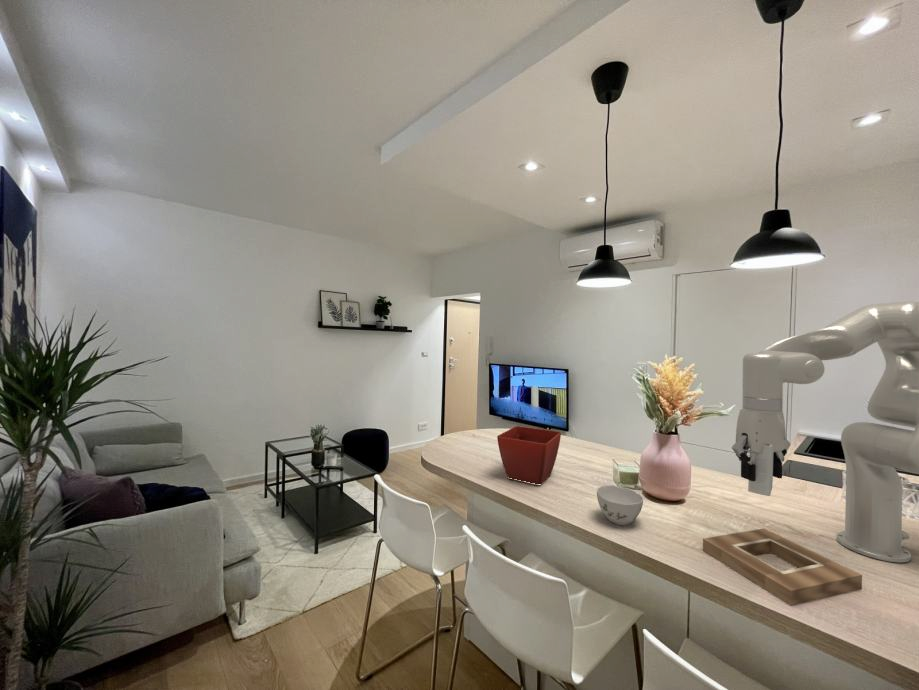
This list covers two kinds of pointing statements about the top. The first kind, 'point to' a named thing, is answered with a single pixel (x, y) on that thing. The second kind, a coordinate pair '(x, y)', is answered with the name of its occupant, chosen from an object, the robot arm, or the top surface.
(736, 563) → the picture frame
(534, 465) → the plant pot
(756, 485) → the skincare box
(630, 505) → the teacup
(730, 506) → the top surface
